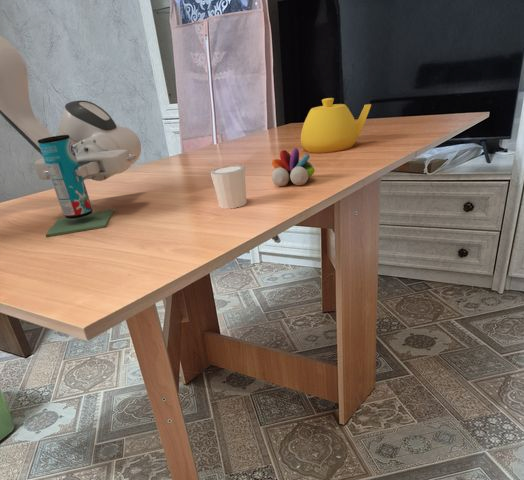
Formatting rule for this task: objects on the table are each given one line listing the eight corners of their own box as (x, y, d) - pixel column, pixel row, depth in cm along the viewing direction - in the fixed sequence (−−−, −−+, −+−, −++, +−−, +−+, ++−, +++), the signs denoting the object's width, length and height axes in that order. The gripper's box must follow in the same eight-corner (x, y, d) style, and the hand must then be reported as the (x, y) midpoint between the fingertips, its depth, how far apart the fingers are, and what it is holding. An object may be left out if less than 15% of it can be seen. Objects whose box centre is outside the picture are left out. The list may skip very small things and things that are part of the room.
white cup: (240, 197, 100) (235, 163, 96) (255, 203, 95) (250, 167, 91) (211, 205, 98) (205, 170, 94) (224, 212, 92) (218, 175, 89)
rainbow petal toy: (279, 178, 111) (276, 146, 107) (319, 177, 107) (317, 143, 103) (267, 188, 104) (263, 154, 100) (309, 186, 101) (307, 151, 97)
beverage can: (92, 216, 95) (66, 137, 87) (62, 221, 95) (34, 142, 87) (95, 208, 100) (71, 133, 92) (67, 213, 100) (40, 138, 92)
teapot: (298, 156, 131) (294, 105, 124) (305, 143, 146) (302, 98, 139) (371, 149, 126) (371, 96, 120) (370, 137, 142) (370, 89, 135)
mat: (46, 237, 93) (45, 234, 93) (59, 220, 103) (58, 218, 103) (106, 227, 94) (105, 224, 94) (113, 211, 104) (112, 209, 104)
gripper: (143, 170, 103) (113, 187, 91) (63, 176, 108) (26, 193, 97) (136, 139, 99) (103, 152, 88) (54, 147, 104) (13, 161, 93)
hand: (62, 174), depth 92 cm, fingers closed on beverage can, 6 cm apart
